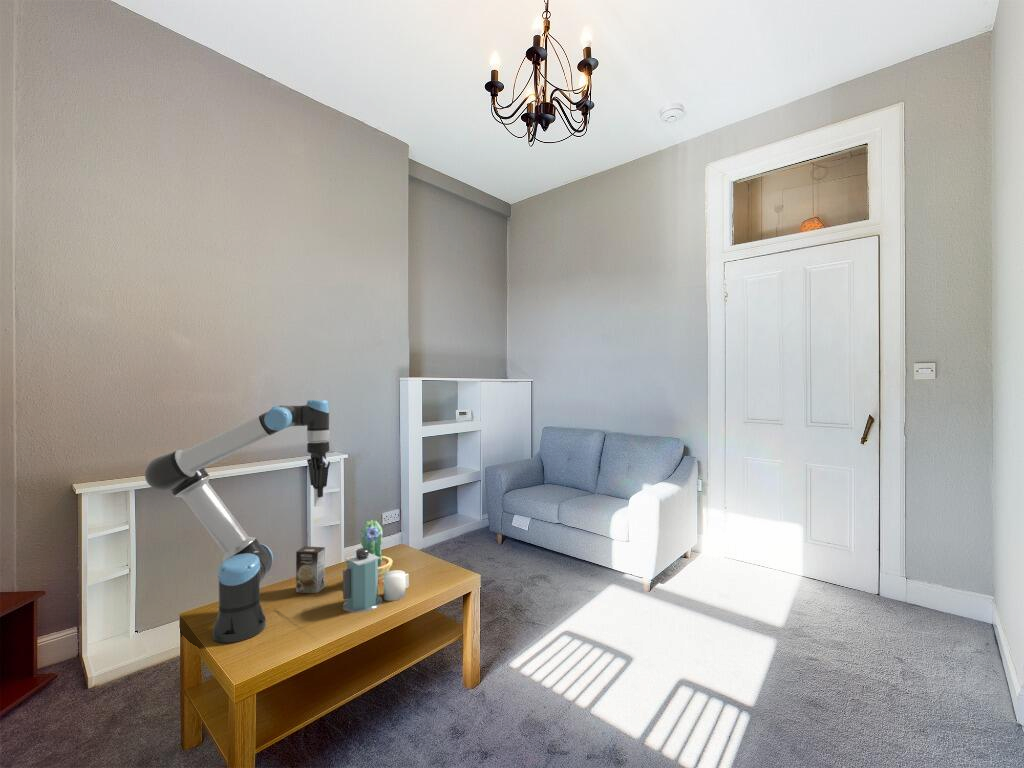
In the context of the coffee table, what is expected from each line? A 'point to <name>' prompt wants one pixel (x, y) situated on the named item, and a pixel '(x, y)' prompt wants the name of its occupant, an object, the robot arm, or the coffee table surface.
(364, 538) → the potted cactus
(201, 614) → the coffee table surface
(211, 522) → the robot arm
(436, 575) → the coffee table surface
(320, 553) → the coffee box
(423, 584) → the coffee table surface
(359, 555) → the plunger
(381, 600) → the trivet
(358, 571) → the carafe
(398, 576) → the mug
